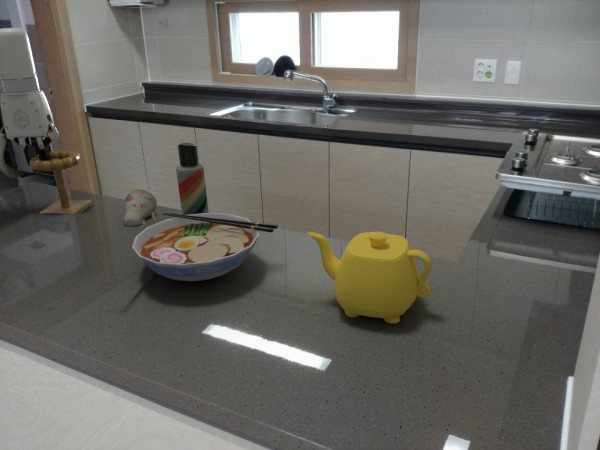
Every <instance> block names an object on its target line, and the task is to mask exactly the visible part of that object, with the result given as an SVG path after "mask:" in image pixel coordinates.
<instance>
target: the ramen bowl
mask: <svg viewBox="0 0 600 450" xmlns="http://www.w3.org/2000/svg"><path fill="white" fill-rule="evenodd" d="M161 215H162V216H167V217H171V218H168V219H164V220H162V221H159V222H157V223H154V224H152V225H150V226H148V227H146V228H145V229H143V230H142V231H141V232H140V233H138V234H137V235H136V236H135V237H134V240H133V243H132V246H131V248H132V249H133V251H134V252H135V253H136V255H137V256H138V257H139V259H140V260H141V261H142V262H143V263H144V265H146V266H147V267H148V268H149V269H150V270H151V271H153V272H154V273H156V274H158V275H160V276H163V277H165V278H168V279H171V280H175V281H182V282H197V281H198V282H199V281H208V280H211V279H215V278H217V277H221V276H224V275H225V274H227V273H229V272H231V271H232V270H234V269H237V268H238V267H240V266H241V265H242V263H243V262H244V261H245V260H246V259H247V257H248V256H249V254H250V253H251V251H252V250H253V248H254V246H255V245H256V243H257V241H258V239H259V236H260V233H259V232H266V233H270V234H271V233H273V232H274V230H277V229H278V227H279V226H278V224H275V223H265V222H256V221H255V222H254V221H251V220H250V219H248V218H247V217H242V216H239V215H236V214H231V213H221V212H220V213H217V212H209V213H202V214H190V215H182V214H179V213H170V212H169V213H167V212H163V213H161Z"/></svg>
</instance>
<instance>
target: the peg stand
mask: <svg viewBox="0 0 600 450" xmlns="http://www.w3.org/2000/svg"><path fill="white" fill-rule="evenodd" d="M52 160H60V159H59V158H56V159H52ZM52 160H51V161H52ZM52 172H53V176H54V180H55V184H56V190H57V195H58V197H59V199H58V200H56V201H55V202H53V203H51V204H50V205H49V206H47V207H46V208H44V209H43V210H41V211H39V214H82V213H84V212H85V211H86V210H87V209H89V208H90V207H91V206H92V205H93V201H92V199H70V197H69V194H68V190H67V186H66V185H67V184H66V181H65V176H64V170H57V171H52Z"/></svg>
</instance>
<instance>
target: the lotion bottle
mask: <svg viewBox="0 0 600 450" xmlns="http://www.w3.org/2000/svg"><path fill="white" fill-rule="evenodd" d="M197 146H198V145H197V144H194V143H190V142H181V143H179V144H178V145H177V152H178V158H179V159H178V160H179V165H177V166H176V167H175V173H176V180H177V186H178V188H177V189H178V194H179V203H180V209H181V210H180V211H181V215H190V214H202V213H210V211H209V203H208V202H209V201H208V194H207V184H206V176H205V167H204V164H203V163H201V162H199V155H198V147H197Z"/></svg>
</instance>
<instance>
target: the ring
mask: <svg viewBox="0 0 600 450" xmlns="http://www.w3.org/2000/svg"><path fill="white" fill-rule="evenodd" d="M49 153H50V157H51V160H52V159H56V158H59V159H60V160H52V161H40V159H39V154H36V156H35V157H33V158H31V159H30V166H29V167H30V169H32V170H33V171H38V172H53V171H57V170H62V171H64V170H66V169H70V168H74V167H75V166H76V165H78V164H80V163H81V155H80V153H79V152H77V151H73V150H54V151H53V150H52V151H49Z"/></svg>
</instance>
